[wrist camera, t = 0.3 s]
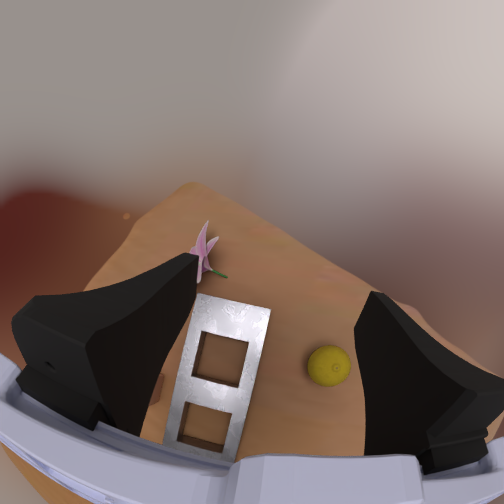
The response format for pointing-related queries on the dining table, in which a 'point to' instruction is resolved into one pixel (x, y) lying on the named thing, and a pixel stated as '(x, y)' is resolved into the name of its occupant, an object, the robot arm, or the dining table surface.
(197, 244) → the lily
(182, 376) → the grey slotted board
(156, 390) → the peg
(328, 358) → the lemon
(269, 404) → the dining table surface
